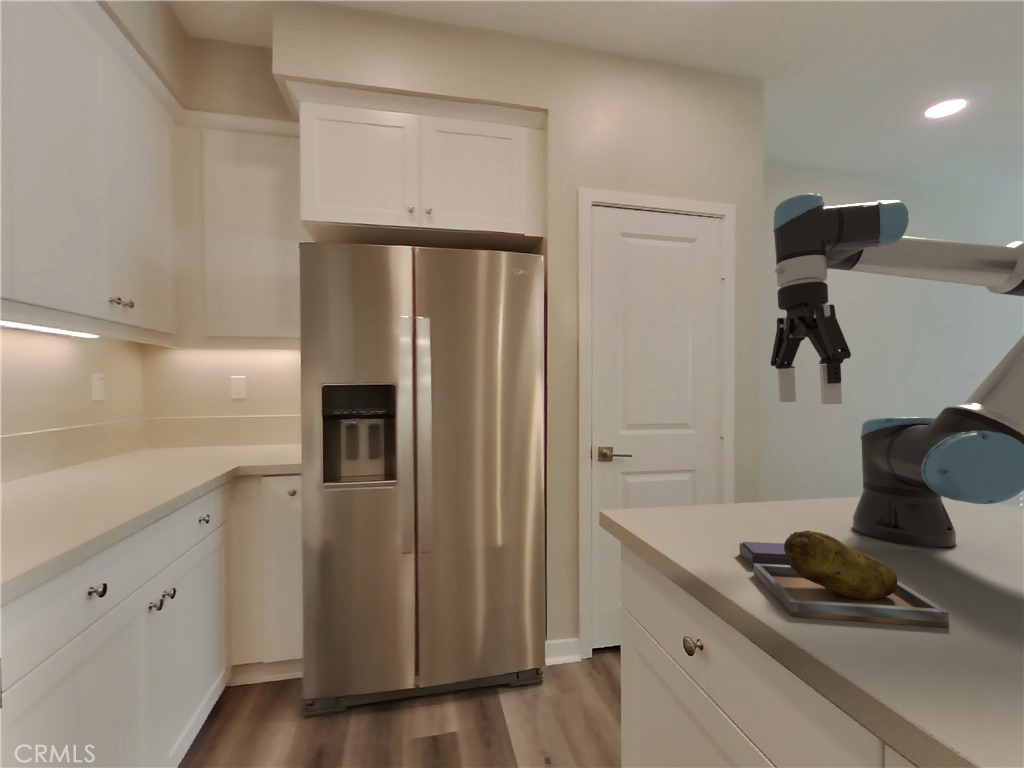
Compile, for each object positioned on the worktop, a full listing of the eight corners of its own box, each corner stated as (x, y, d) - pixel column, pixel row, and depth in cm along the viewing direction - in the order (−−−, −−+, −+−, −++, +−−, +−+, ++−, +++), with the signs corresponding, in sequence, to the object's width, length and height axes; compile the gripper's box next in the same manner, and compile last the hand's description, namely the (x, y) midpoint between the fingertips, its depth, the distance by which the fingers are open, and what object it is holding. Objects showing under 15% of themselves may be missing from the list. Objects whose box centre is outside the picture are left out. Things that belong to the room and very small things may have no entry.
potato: (906, 618, 54) (904, 553, 54) (783, 592, 61) (782, 535, 61) (895, 592, 60) (894, 535, 61) (786, 571, 68) (785, 520, 68)
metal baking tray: (879, 582, 65) (879, 570, 65) (949, 627, 53) (948, 612, 53) (753, 574, 68) (753, 563, 68) (791, 616, 56) (790, 602, 56)
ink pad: (789, 556, 75) (788, 542, 75) (806, 571, 69) (806, 556, 69) (739, 554, 77) (739, 540, 77) (752, 568, 71) (752, 553, 71)
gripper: (749, 300, 91) (754, 401, 90) (821, 266, 66) (829, 406, 66) (787, 298, 90) (792, 400, 90) (874, 263, 65) (882, 404, 65)
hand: (807, 403), depth 78 cm, fingers open, 13 cm apart
